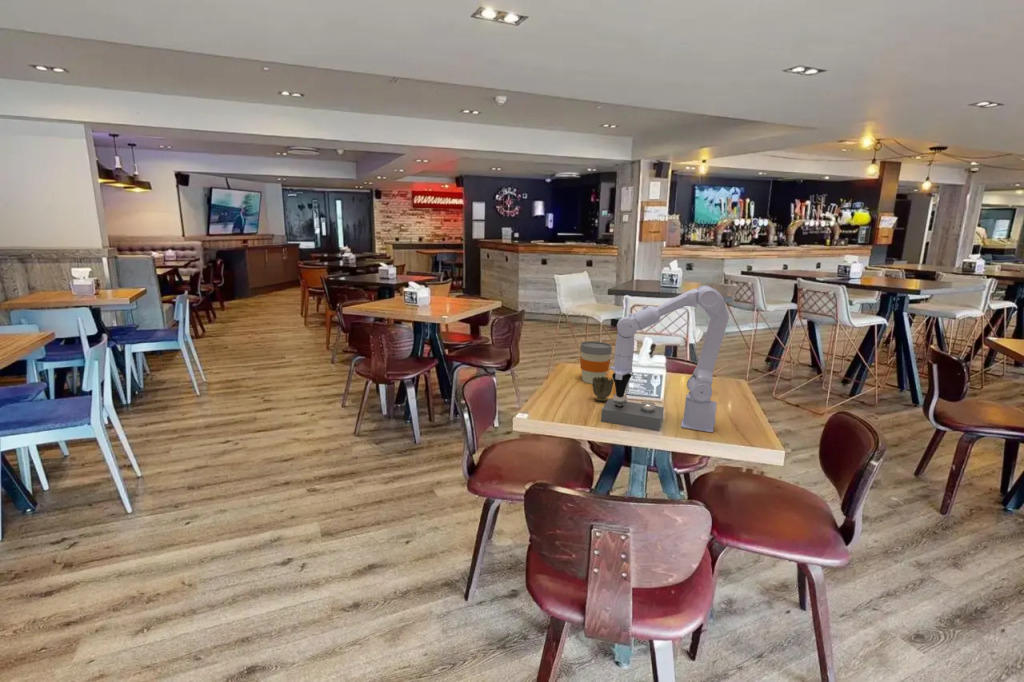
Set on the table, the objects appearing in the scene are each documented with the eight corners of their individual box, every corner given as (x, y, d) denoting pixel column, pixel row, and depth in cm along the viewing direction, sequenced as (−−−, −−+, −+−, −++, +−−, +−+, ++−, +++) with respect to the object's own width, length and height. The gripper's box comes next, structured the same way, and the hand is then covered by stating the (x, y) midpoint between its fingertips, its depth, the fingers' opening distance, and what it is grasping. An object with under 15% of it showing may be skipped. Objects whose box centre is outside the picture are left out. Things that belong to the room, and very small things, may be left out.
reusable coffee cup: (611, 385, 204) (615, 348, 201) (580, 384, 204) (583, 347, 201) (605, 377, 217) (608, 342, 214) (575, 375, 216) (578, 340, 213)
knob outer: (626, 408, 170) (628, 394, 169) (624, 412, 166) (626, 398, 165) (613, 406, 171) (614, 392, 170) (611, 410, 167) (612, 396, 166)
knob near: (654, 416, 167) (656, 402, 166) (653, 420, 163) (654, 406, 162) (640, 414, 168) (642, 400, 167) (639, 418, 164) (640, 404, 163)
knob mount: (662, 418, 170) (663, 407, 169) (659, 431, 159) (660, 418, 158) (607, 409, 176) (608, 398, 175) (600, 421, 165) (601, 409, 164)
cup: (586, 399, 186) (588, 378, 184) (600, 396, 191) (601, 375, 189) (602, 405, 180) (604, 383, 179) (616, 401, 185) (618, 380, 184)
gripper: (615, 348, 173) (611, 388, 175) (607, 358, 159) (603, 400, 162) (636, 351, 170) (632, 391, 173) (630, 361, 157) (626, 403, 160)
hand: (620, 395), depth 167 cm, fingers closed, pressing on knob outer
